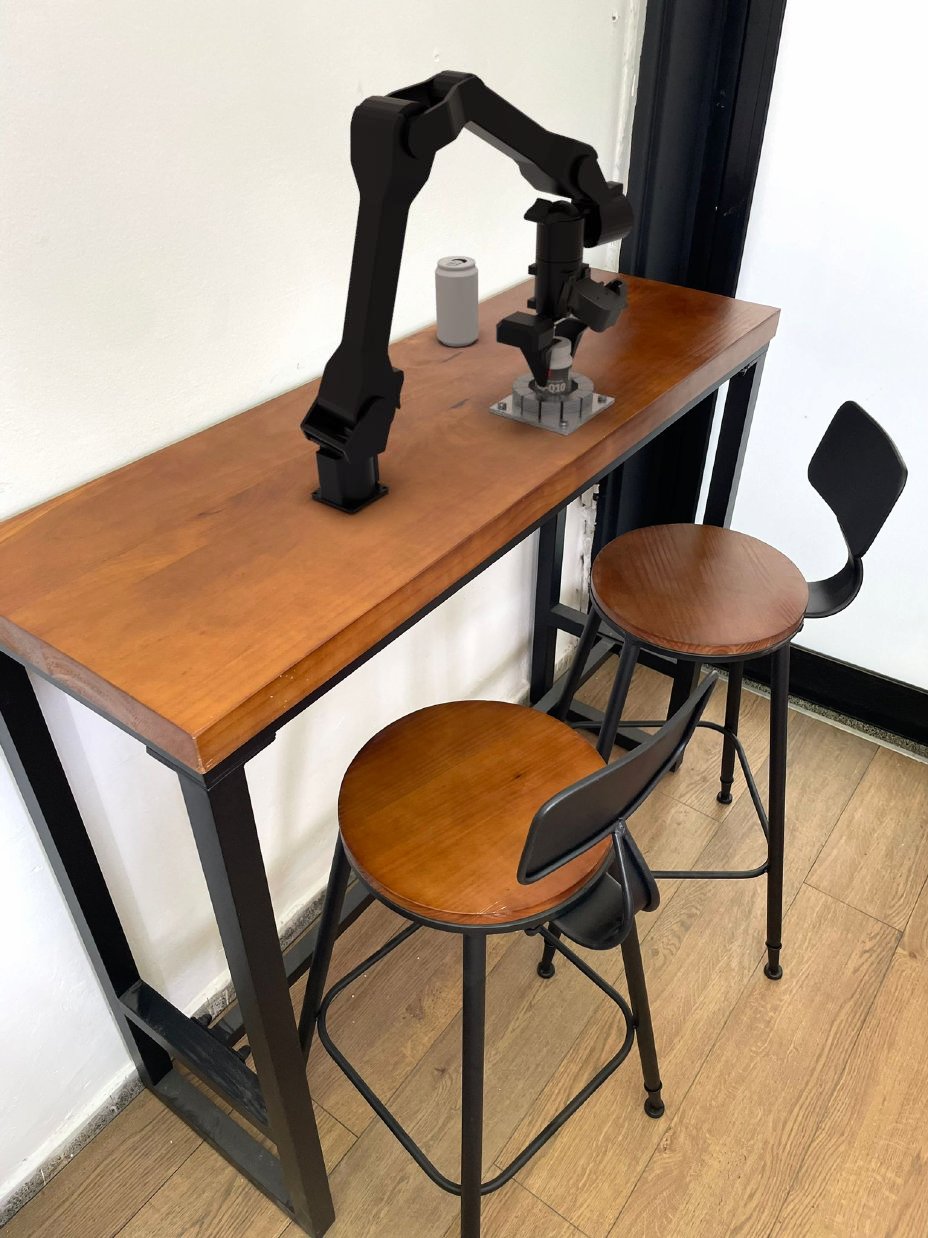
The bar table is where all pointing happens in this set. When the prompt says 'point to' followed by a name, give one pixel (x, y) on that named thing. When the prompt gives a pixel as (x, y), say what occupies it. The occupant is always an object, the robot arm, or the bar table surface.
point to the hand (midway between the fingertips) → (553, 379)
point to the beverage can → (457, 300)
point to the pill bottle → (558, 371)
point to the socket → (552, 405)
